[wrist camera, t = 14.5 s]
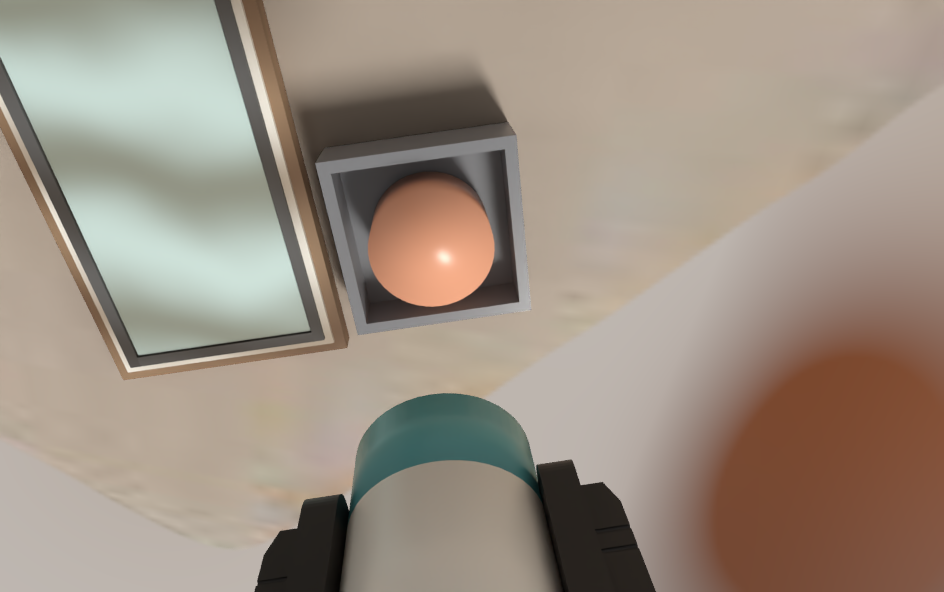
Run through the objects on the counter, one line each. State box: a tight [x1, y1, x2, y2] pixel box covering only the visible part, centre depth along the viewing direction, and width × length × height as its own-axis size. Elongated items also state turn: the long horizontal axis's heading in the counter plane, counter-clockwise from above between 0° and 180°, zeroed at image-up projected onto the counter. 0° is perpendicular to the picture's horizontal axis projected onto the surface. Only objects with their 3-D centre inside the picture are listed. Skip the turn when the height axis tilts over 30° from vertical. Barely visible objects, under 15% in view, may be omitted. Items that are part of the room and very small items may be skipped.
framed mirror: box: [0, 0, 349, 380], centre depth 25 cm, size 19×11×1 cm, turn 7°
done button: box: [368, 171, 495, 307], centre depth 26 cm, size 5×5×3 cm
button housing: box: [315, 122, 531, 335], centre depth 26 cm, size 8×8×2 cm
